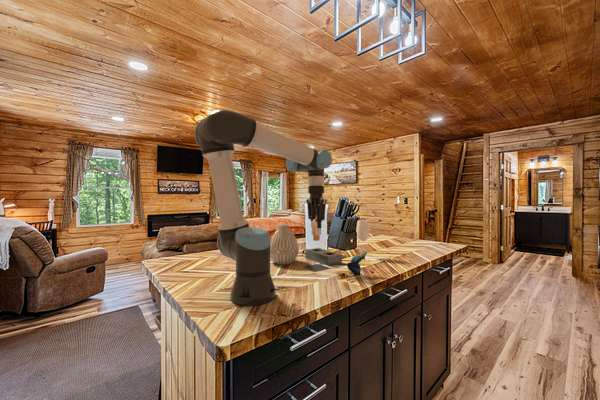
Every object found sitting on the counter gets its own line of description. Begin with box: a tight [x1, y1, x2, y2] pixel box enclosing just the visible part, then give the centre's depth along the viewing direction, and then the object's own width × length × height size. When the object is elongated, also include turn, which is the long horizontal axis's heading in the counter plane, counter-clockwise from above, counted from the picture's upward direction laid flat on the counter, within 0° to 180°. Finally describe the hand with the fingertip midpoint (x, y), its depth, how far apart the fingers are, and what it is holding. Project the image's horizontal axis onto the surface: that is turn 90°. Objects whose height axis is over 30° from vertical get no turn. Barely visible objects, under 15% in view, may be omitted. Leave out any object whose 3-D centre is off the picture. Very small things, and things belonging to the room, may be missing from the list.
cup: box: [356, 219, 371, 242], centre depth 147 cm, size 7×7×21 cm
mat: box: [302, 263, 332, 273], centre depth 124 cm, size 10×10×1 cm
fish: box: [346, 251, 368, 276], centre depth 114 cm, size 4×10×10 cm, turn 112°
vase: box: [270, 223, 300, 266], centre depth 134 cm, size 16×16×20 cm
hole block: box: [305, 247, 343, 267], centre depth 137 cm, size 20×9×5 cm, turn 33°
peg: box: [312, 219, 321, 241], centre depth 124 cm, size 3×3×10 cm
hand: (316, 234), depth 124 cm, fingers closed on peg, 2 cm apart
